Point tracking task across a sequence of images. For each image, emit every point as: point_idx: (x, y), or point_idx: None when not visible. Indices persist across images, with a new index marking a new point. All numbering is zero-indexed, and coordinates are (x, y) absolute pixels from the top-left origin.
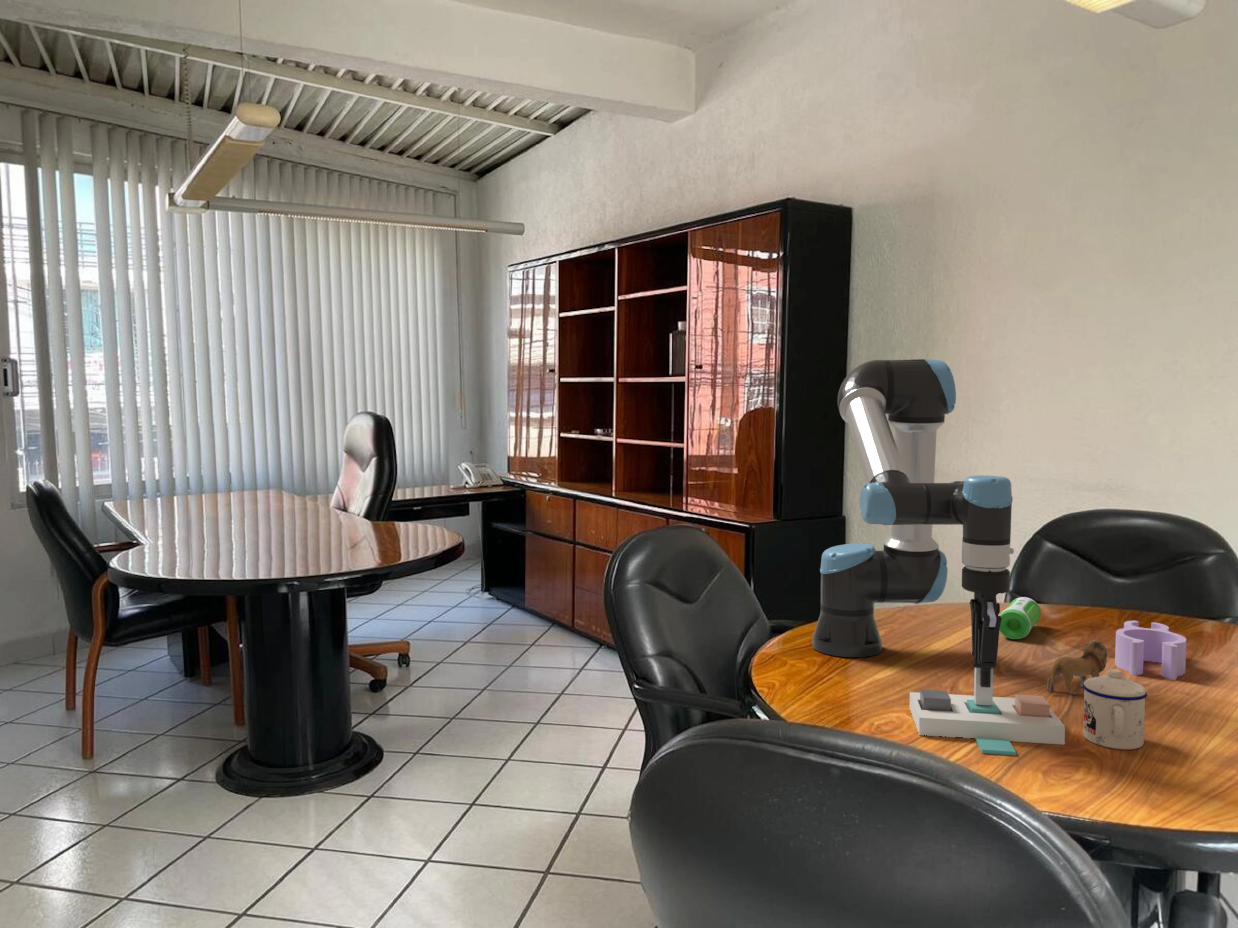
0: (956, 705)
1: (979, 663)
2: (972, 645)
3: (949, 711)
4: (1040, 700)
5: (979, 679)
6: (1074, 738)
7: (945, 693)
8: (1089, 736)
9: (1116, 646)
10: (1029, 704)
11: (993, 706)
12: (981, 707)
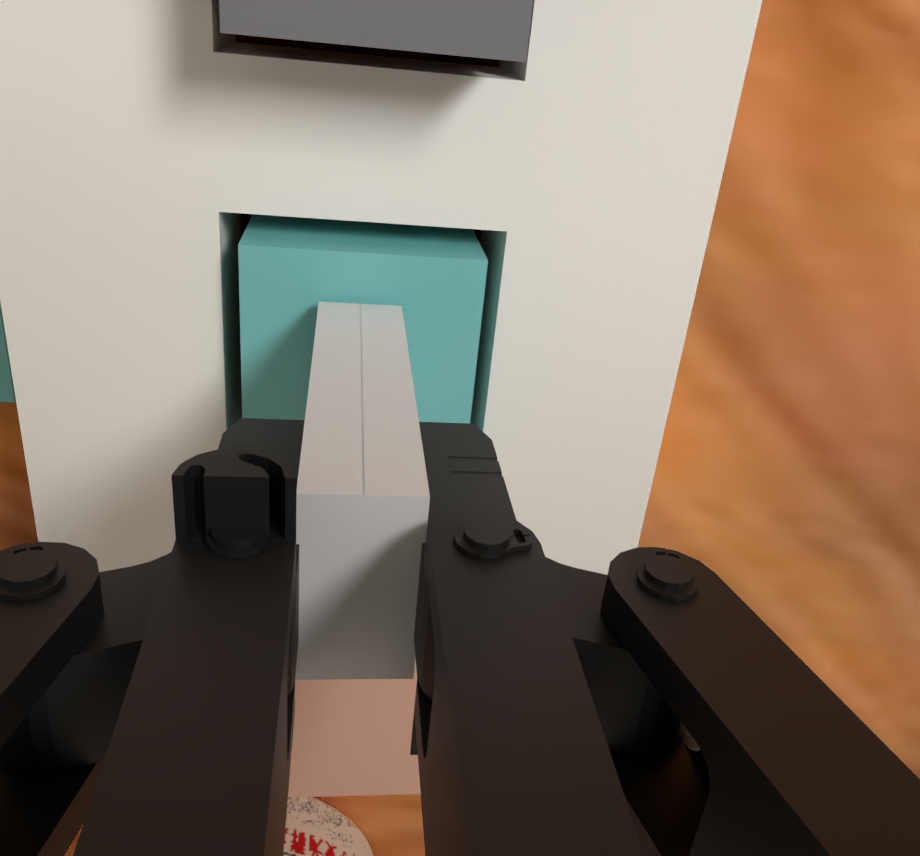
0: (407, 133)
1: (24, 564)
2: (757, 662)
3: (214, 8)
4: (337, 765)
5: (301, 444)
6: None
7: (427, 22)
8: None
9: None
10: None
11: None
12: (284, 337)
